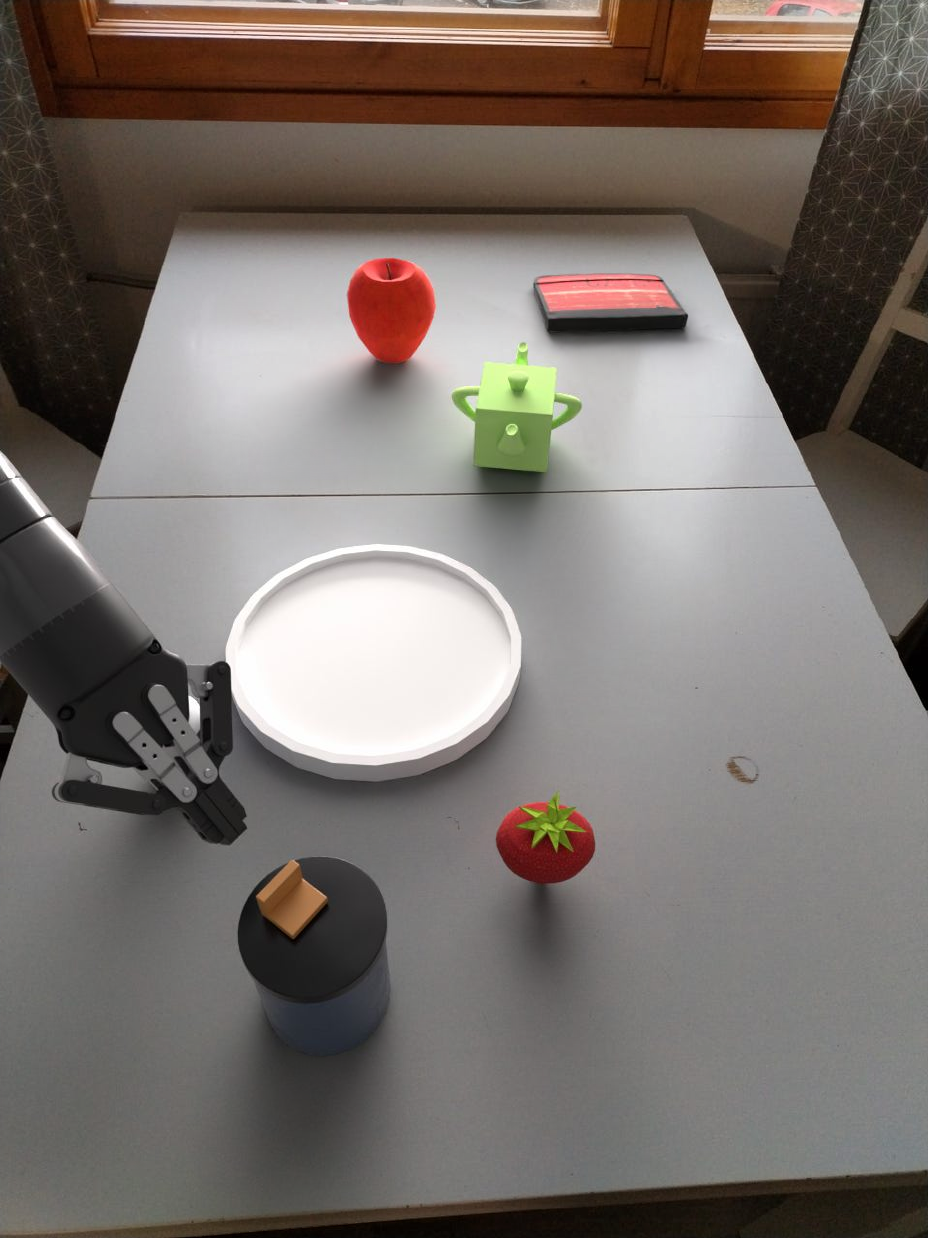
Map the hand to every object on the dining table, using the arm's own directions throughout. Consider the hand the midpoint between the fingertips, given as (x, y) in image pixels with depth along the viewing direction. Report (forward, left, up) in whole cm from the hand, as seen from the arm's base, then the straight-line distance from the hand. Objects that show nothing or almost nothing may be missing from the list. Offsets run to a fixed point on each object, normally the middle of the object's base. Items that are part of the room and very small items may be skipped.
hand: (234, 836), depth 56 cm
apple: (+75, +39, -15) cm, 86 cm away
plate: (+27, +9, -15) cm, 33 cm away
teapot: (+64, +14, -15) cm, 68 cm away
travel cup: (-1, -6, -15) cm, 16 cm away
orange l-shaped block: (0, -5, -4) cm, 6 cm away
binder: (+105, +20, -15) cm, 108 cm away
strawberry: (+15, -15, -15) cm, 26 cm away
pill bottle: (+8, +16, -15) cm, 24 cm away
